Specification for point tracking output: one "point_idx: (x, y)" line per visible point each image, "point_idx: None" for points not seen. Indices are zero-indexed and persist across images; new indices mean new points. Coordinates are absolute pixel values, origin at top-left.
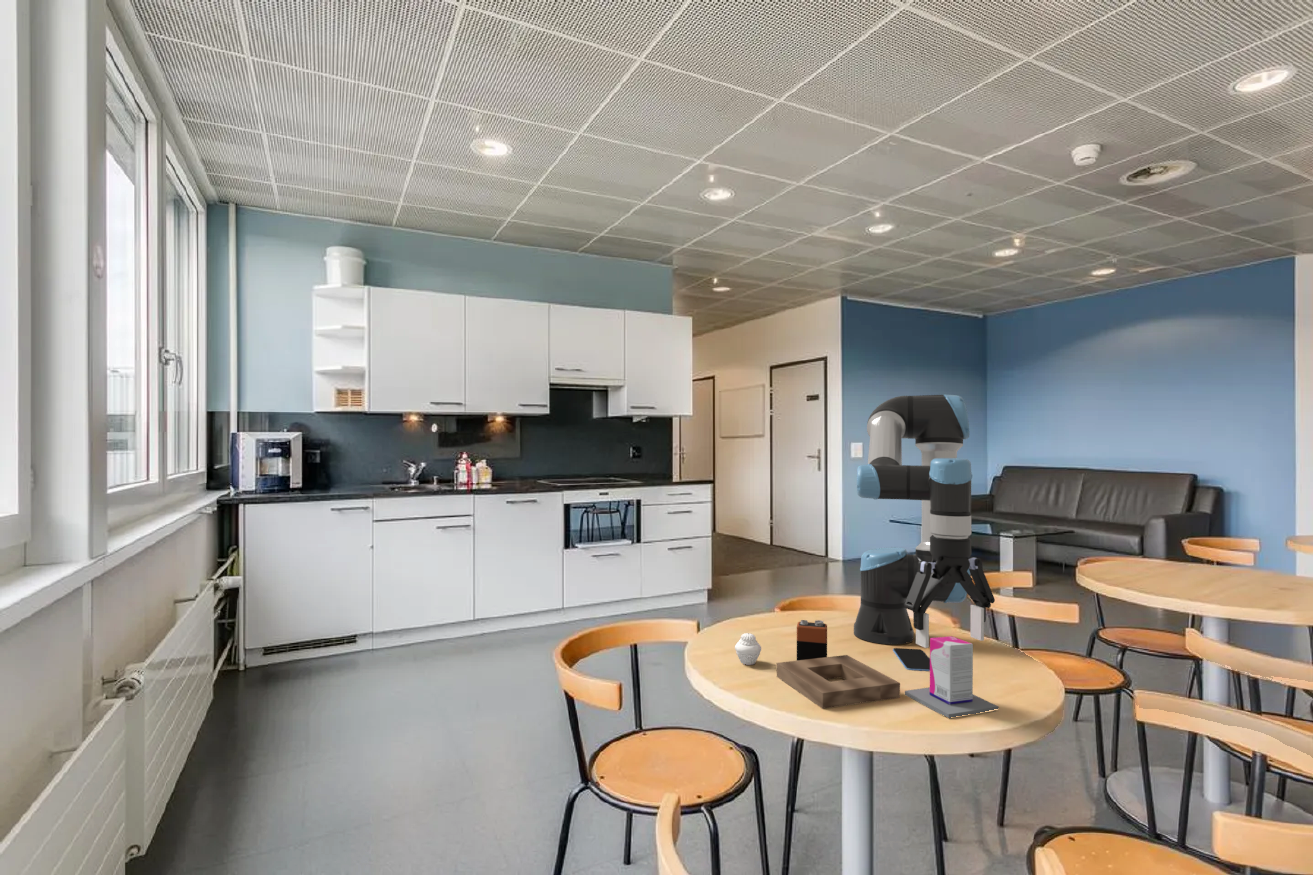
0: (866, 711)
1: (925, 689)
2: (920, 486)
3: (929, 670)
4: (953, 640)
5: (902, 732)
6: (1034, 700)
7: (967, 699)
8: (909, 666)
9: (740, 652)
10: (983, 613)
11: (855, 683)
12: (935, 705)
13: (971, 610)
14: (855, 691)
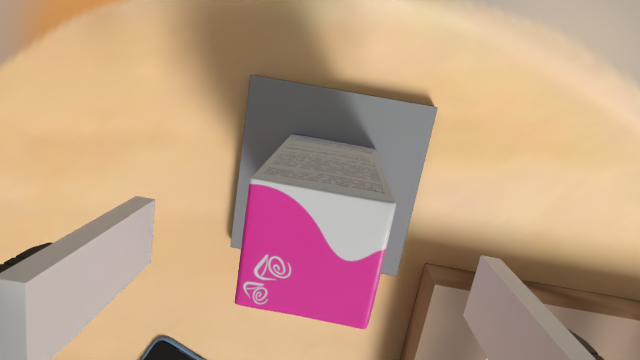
0: (586, 243)
1: None
2: None
3: (184, 348)
4: (298, 253)
5: (630, 105)
6: (87, 73)
7: (312, 137)
8: None
9: None
10: (33, 258)
11: None
12: (413, 167)
13: (57, 345)
14: (589, 308)
